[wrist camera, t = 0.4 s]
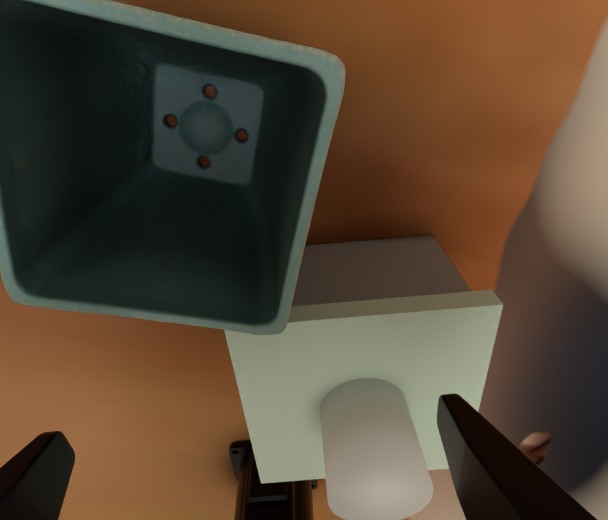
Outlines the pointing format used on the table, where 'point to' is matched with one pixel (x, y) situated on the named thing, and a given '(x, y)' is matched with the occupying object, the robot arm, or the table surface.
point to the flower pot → (157, 163)
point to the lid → (363, 394)
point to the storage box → (375, 271)
